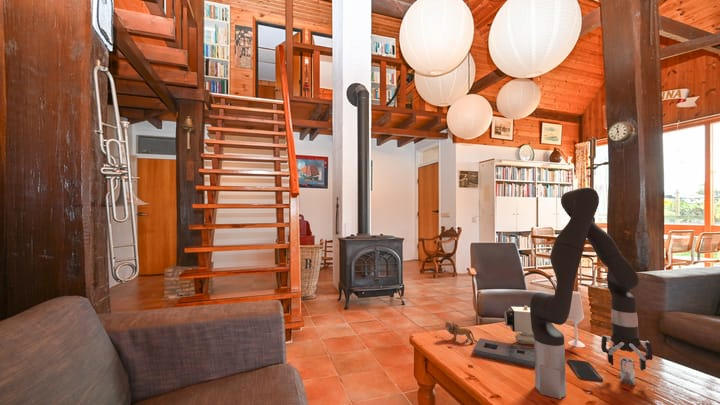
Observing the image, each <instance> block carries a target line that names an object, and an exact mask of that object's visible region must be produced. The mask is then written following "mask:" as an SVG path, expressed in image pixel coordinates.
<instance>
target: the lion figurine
mask: <svg viewBox="0 0 720 405" xmlns="http://www.w3.org/2000/svg"><path fill="white" fill-rule="evenodd" d="M444 328H445V331H447V332H448V333H449V334H450V335H453V337H452V339H453V340H452V341H453V342H456V341H457V336H464V335H465V337H466V339H465V341H466V342H469V341H470V342H469V344H470V345H473V344H474V342H475V343H477V342H478V340H476V339H475V338H474V337H475V336H474V334H473V332H472V330H471V329H470V328H469V327H460V326H458V324H456V323H454V322H453V321H451V320H448V321H445V326H444Z"/></svg>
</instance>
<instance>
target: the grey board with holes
mask: <svg viewBox="0 0 720 405" xmlns="http://www.w3.org/2000/svg"><path fill="white" fill-rule="evenodd" d="M472 350H473V351H472V352H473V356H476V357H477V356H478V357H482V358H485V359H491V360H494V361H498V362H504V363H508V364H513V365H519V366H522V367H528V368H533V369H535V357H534V347H529V346H525V345H521V344H520V345H519V344H514V343H508V342H502V341H498V340H492V339H486V338H479V339H478V340H477V342H476V344H475V346H474V348H473V349H472Z"/></svg>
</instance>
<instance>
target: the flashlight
mask: <svg viewBox="0 0 720 405" xmlns="http://www.w3.org/2000/svg"><path fill="white" fill-rule="evenodd" d="M619 369H620V382H621V383H623V384H625V385H629V386H635V385H636V372H635V360H633V359H631V358H630V357H619Z"/></svg>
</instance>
